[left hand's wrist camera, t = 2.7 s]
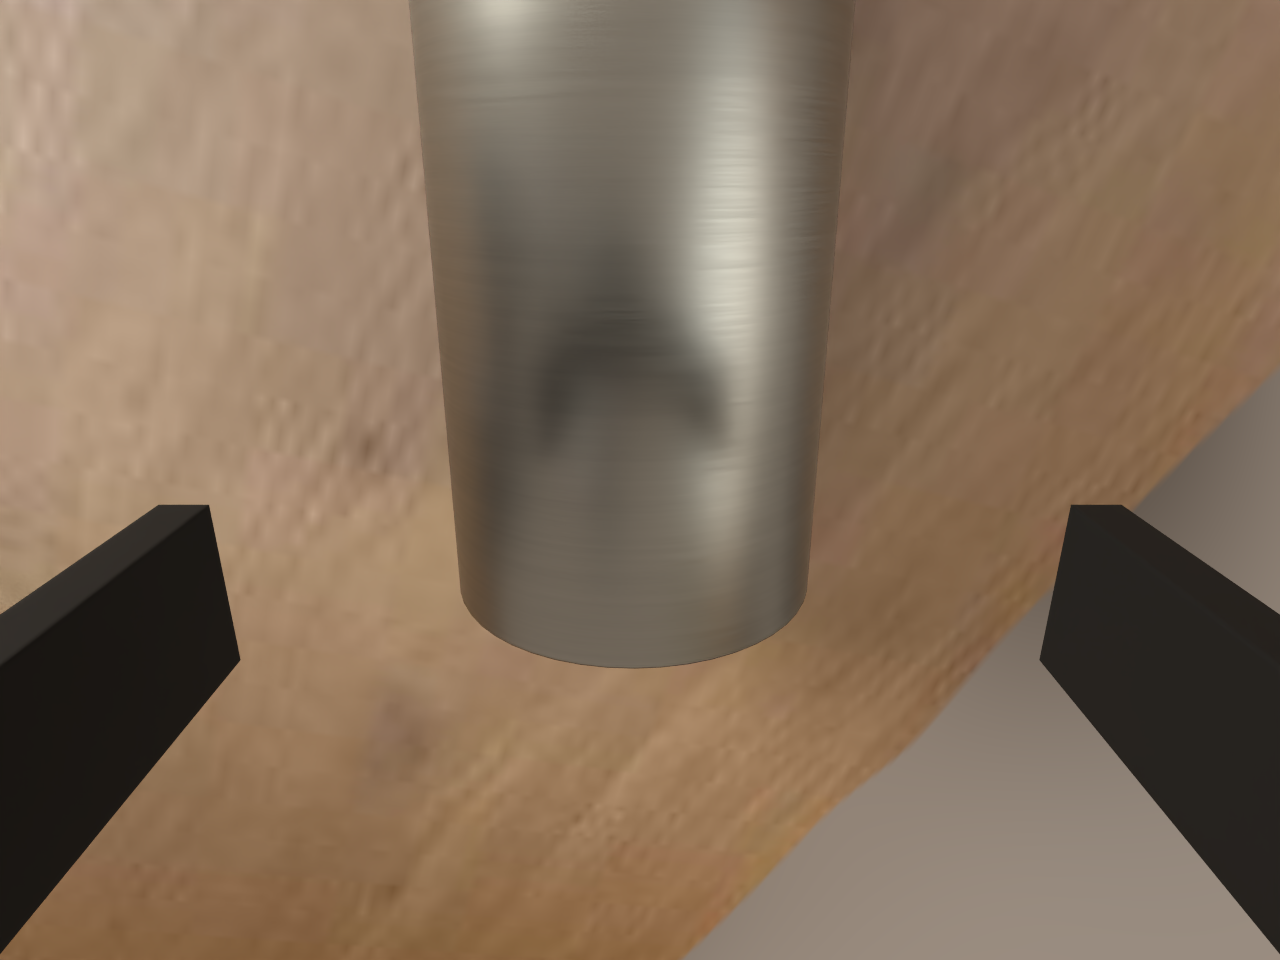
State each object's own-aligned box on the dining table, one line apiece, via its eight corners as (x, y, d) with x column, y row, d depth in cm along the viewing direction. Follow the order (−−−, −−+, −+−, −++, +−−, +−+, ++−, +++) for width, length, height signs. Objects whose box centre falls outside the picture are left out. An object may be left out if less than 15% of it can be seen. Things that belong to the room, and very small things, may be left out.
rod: (775, 506, 25) (844, 668, 17) (491, 507, 25) (422, 671, 17) (847, -610, 16) (1061, -1388, 8) (413, -614, 16) (194, -1398, 8)
